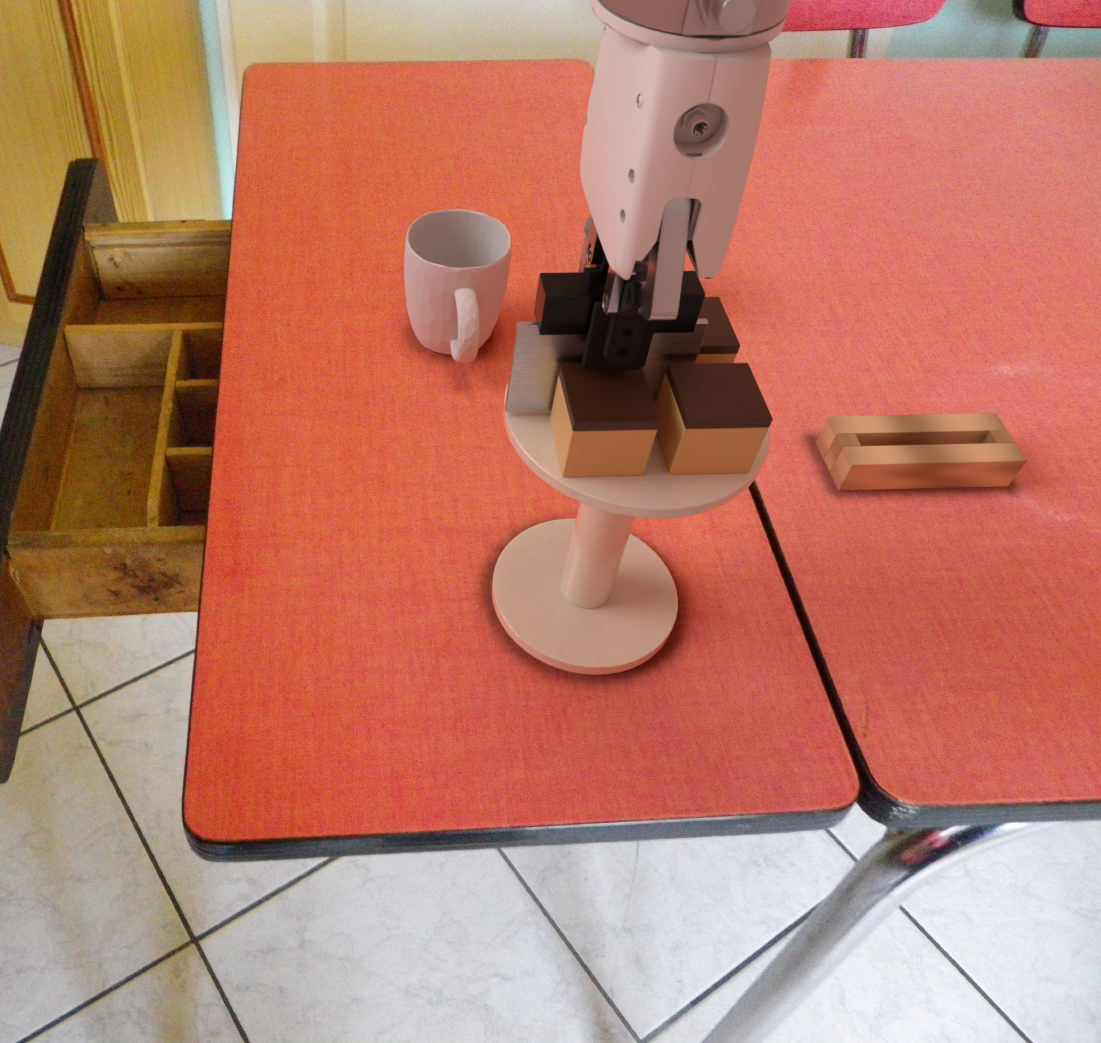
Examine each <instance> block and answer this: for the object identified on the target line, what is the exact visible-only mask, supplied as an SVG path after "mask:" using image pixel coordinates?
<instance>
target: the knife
mask: <svg viewBox="0 0 1101 1043" xmlns="http://www.w3.org/2000/svg"><path fill="white" fill-rule="evenodd" d="M607 274H608V272H578V271H577V272H575V271H573V272H572V271H571V272H539V276H538V282H537V287H536V288H537V289H536V294H535V301H534V307H533V313H534V317H535V321H516V325H515V332H514V338H513V347H512V353H511V360H510V368H509V374H508V381H507V384H508V388H507V395H506V402H505V412H537V411H552V406H553V401H554V396H555V391H556V385H557V380H558V376H559V370H560V366H584V364H583V361H582V359H583V354H584V349H585V345H586V340H587V335H588V330H589V326H590V321H591V316H592V312H593V307H594V302H595V301H602V298H603V293H604V288H605V283H606V279H607ZM646 278H647V273H636V274H635V275H631V277H630V279H629V280H625V283H624V285H625V284H627V283H629V282H646ZM706 295H707V294H706V291H705V289H704V287H703V285H702V282H701V280H700V278H698V276H697V274H696V272H695V270H683V278H682V286H681V294H680V302H679V310H678V315H677V318H676V319H675V320H657V323H656V327H655V330H654V334H653V338H652V341H651V345H650V349H649V352H648V356H647V359H646V363H645V365H644V367H643V371H644V374H645V377H646V380H647V383H648V386H649V389H650V392H651V395H652V398H653V401H654V404H655V405H656V402H657V399H658V395H659V392H660V389H661V386H662V382H663V379H664V376H665V373H666V369H667V366H668V364H695V362H696V359H697V356H698V353H699V350H700V347H701V344H702V341H703V338H704V335H705V332H706V329H707V326H708V321H707V319H698V317H699V314H700V311H701V307H702V304H703V301H704V298H705V297H706Z"/></svg>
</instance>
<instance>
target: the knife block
mask: <svg viewBox="0 0 1101 1043" xmlns="http://www.w3.org/2000/svg"><path fill="white" fill-rule="evenodd" d="M815 445H816V446H817V449H818V451H819V453H820V455H821V457H822V460H823V461H824V463H825V466H826V467H827V470H828V472H829V474H830V476H831V479H832V481H833V482H834V484H835V486H836V489H837V491H870V490H872V491H873V490H909V489H910V490H911V489H914V490H916V489H917V490H918V489H946V488H947V489H953V488H958V489H959V488H991V487H992V488H995V487H996V488H997V487H998V488H999V487H1009V486H1010V484H1011V483H1012V481H1014V479H1015V478H1016V476H1017V475H1018V474H1019V472H1020V471H1021V470H1022V469H1023V467H1024V466H1025V464H1026V463H1027V462H1028V460H1027V458H1026V456H1025V454H1024V453H1023V452H1022V450H1021V449H1020V447H1019V445H1018V443H1016V441H1015V440H1014V438H1013V436H1012V434H1010V432H1009V430H1008V429H1007V427H1006V426H1005V425H1004V422H1002V420H1001V418H1000V417H999V416H998V414H997V413H996V412H984V413H983V412H980V413H978V412H977V413H974V412H973V413H936V414H935V413H933V414H931V413H930V414H929V413H928V414H925V413H923V414H884V415H883V414H880V415H879V414H877V415H876V414H875V415H873V414H872V415H830V416H828V417H827V418H826V421H825V422H824V424H823V427H822V429H821V431H820V433H819V434H818V436H817V438H816V441H815Z"/></svg>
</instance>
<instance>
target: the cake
mask: <svg viewBox="0 0 1101 1043" xmlns="http://www.w3.org/2000/svg"><path fill="white" fill-rule="evenodd" d="M698 319H707V321H708V326H707V329H706V332H705V335H704V338H703V341H702V344H701V347H700V350H699V353H698V356H697V359H696V362H695V364H668V366H667V369H666V373H665V376H664V379H663V382H662V386H661V389H660V392H659V395H658V399H657V402H656V405H655V404H654V401H653V398H652V395H651V392H650V389H649V386H648V383H647V380H646V377H645V374H644V371H643V368H641V369H639V370H610V371H588V370H586V369H585V368H584V366H560V370H559V376H558V380H557V385H556V391H555V396H554V401H553V406H552V411H551V416H550V424H551V429H552V433H553V438H554V442H555V447H556V451H557V456H558V460H559V465H560V469H561V473H562V477H592V476H635V475H643V474H644V471H645V468H646V464H647V461H648V458H649V455H650V452H651V449H652V445H653V442H654V439H655V436H656V434H657V437H658V440H659V443H660V446H661V450H662V453H663V456H664V459H665V462H666V465H667V468H668V471H669V474H670V475H680V474H723V473H749V472H750V470H751V468H752V465H753V463H754V461H755V459H756V456H757V454H758V452H759V449H760V447H761V445H762V443H763V440H764V438H765V436H766V434H767V431H768V429H769V428H770V427H771V425H772V422H773V420H774V419H773V417H772V414H771V411H770V409H769V407H768V405H767V402H766V400H765V397H764V396H763V393H762V391H761V388H760V386H759V385H758V384H759V383H758V382H757V380H756V378H755V376H754V375H755V374H754V373H753V371H752V369H751V367H750V364H749V363H748V362H735V360H736V358H737V354H738V353H739V351H740V348H741V343H740V340H739V338H738V337H737V334H736V332H735V330H734V327H733V325H732V323H731V321H730V318H729V316H728V314H727V312H726V310H725V307H724V305H723V303H722V300H721V298H720V296H705V298H704V301H703V304H702V307H701V311H700V314H699V317H698Z"/></svg>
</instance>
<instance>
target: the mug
mask: <svg viewBox="0 0 1101 1043" xmlns="http://www.w3.org/2000/svg"><path fill="white" fill-rule="evenodd" d="M512 244H513V242H512V236H511V234H510V231H509V229H508V228H507V227H506V225H505V224H504V223H503V222H502V221H500V220H499V219H498V218H495V217H493V216H491V215H488V214H486V213H484V212H480V211H475V210H470V209H462V208H452V209H451V208H450V209H449V208H448V209H437V210H434V211H430V212H427V213H424V214H422V215H420V216H419V217H417V218H416V219H415V220H414V221H412V223H411V224H410V226H409V227H408V229H407V232H406V236H405V245H404V257H403V258H404V260H403V262H404V266H403V281H404V291H405V292H404V294H405V304H406V309H407V310H406V311H407V314H408V317H409V321H410V322H409V323H410V326H411V329H412V332H413V333H414V335H415V337H416V339H417V340H418V341H419V344H421V345H422V346H423V347H424V348H426V349H428V350H430V351H431V352H435V353H437V354H442V355H449V356H450V355H451V357H452V359H453V360H454V361H455V362H456V363H458V364H467V363H472V362H474V360H475V359H476V358H477V355H478V353H479V349H480V348H481V347H483V346H484V344H485V343H486V341H487V340H488V339H489V338H490V337H491V335H492V333H493V331H494V329H495V326H496V324H497V321H498V319H499V317H500V313H501V309H502V307H503V305H504V300H505V295H506V292H507V287H508V280H509V273H510V267H511V260H512V253H513V252H512V246H513V245H512Z"/></svg>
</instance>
